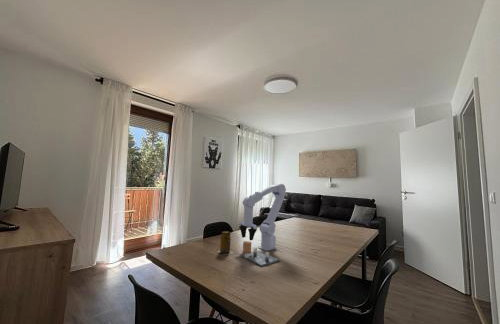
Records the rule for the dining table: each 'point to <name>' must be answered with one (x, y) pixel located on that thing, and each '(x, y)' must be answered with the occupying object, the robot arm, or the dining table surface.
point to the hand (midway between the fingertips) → (247, 238)
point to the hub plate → (260, 258)
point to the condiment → (225, 243)
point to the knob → (247, 247)
